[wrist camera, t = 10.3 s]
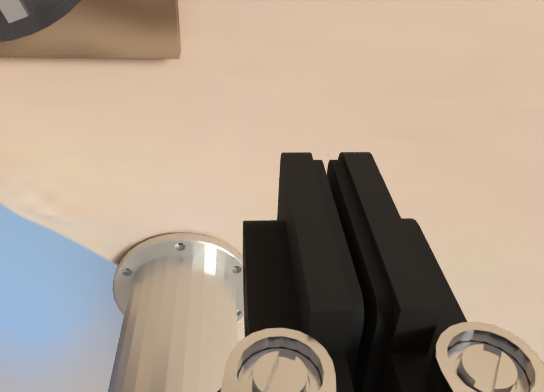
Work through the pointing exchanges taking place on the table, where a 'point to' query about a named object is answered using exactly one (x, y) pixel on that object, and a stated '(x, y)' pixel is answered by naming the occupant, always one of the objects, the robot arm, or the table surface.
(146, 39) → the valve base
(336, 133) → the table surface
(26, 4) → the handwheel
